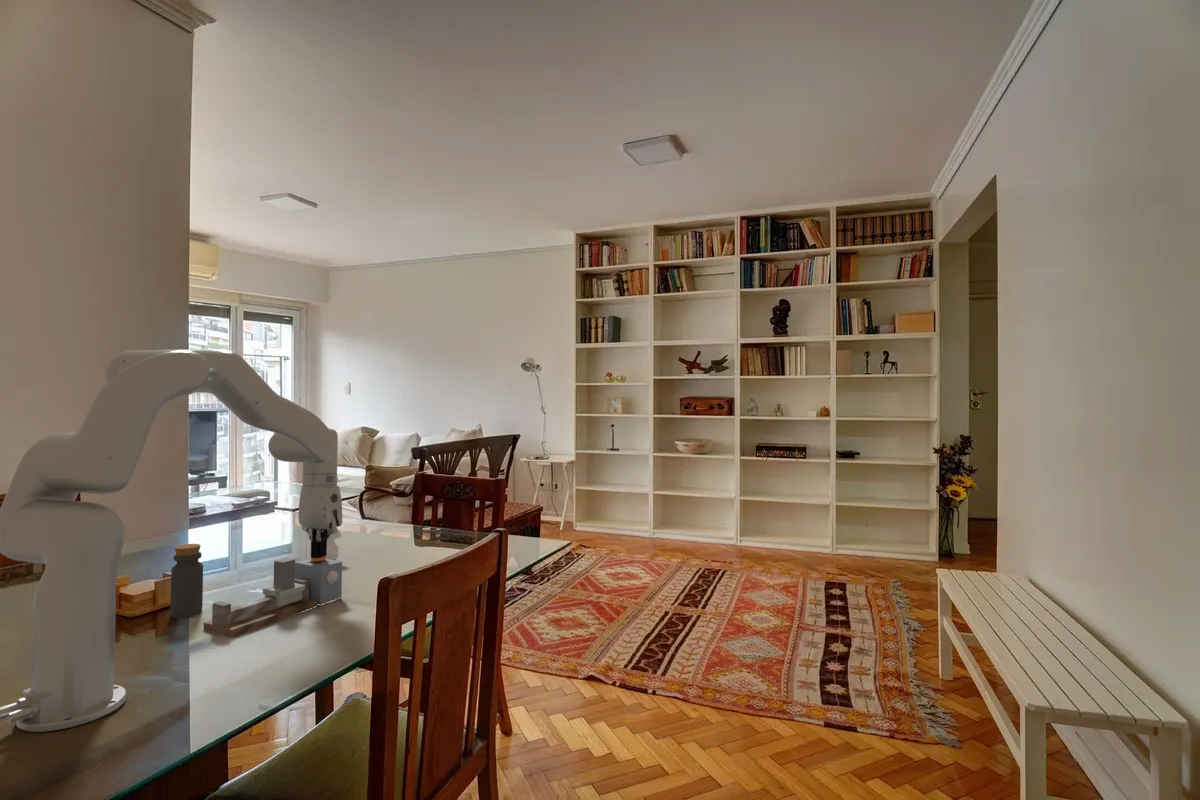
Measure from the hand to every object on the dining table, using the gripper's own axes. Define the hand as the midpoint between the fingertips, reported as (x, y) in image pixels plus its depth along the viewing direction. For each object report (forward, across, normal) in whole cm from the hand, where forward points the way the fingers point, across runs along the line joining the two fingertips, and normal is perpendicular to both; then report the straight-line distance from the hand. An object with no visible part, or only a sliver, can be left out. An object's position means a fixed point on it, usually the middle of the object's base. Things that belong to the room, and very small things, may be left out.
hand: (318, 556), depth 145 cm
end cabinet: (+10, 0, 0) cm, 10 cm away
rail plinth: (+10, 0, +14) cm, 17 cm away
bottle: (+10, +17, +20) cm, 28 cm away
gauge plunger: (+6, 0, 0) cm, 6 cm away
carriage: (+8, 0, +9) cm, 12 cm away
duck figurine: (+11, +25, -24) cm, 36 cm away
